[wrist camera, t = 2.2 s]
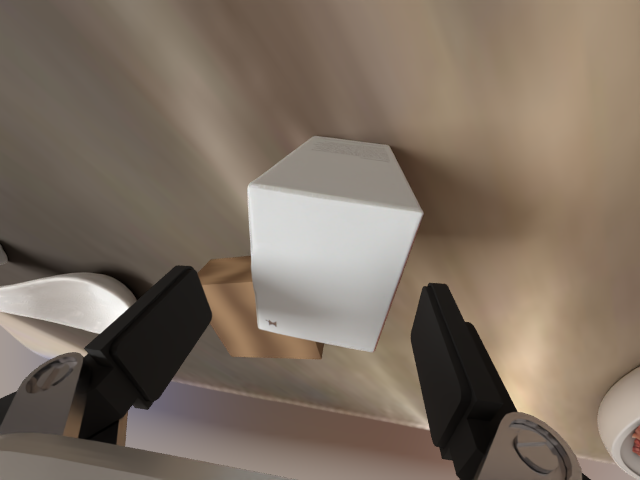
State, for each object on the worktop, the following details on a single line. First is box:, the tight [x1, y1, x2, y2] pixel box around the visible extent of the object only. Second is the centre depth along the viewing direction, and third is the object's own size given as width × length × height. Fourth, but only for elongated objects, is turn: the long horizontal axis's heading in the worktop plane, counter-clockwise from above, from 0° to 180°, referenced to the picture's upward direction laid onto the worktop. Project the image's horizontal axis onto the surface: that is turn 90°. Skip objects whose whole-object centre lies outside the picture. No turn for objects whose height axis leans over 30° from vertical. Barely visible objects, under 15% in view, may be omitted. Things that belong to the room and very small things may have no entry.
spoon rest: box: [0, 244, 137, 334], centre depth 32 cm, size 24×12×7 cm, turn 72°
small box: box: [247, 136, 424, 352], centre depth 15 cm, size 8×6×13 cm
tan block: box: [198, 256, 324, 359], centre depth 28 cm, size 12×12×5 cm
